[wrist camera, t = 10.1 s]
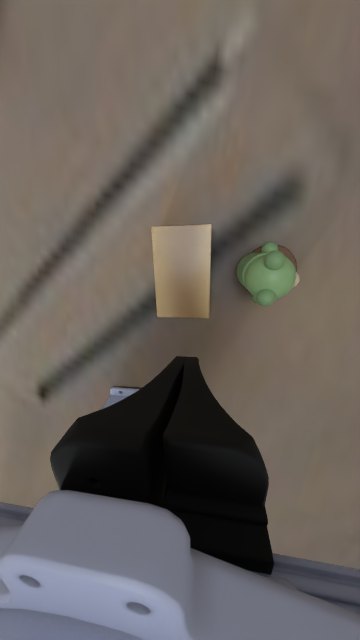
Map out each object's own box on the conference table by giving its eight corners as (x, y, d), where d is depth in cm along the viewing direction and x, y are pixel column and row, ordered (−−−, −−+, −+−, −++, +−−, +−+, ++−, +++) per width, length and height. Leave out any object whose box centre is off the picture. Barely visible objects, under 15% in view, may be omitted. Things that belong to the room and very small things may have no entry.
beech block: (163, 308, 22) (157, 317, 19) (159, 230, 19) (151, 226, 16) (209, 309, 21) (209, 318, 18) (211, 228, 18) (211, 223, 16)
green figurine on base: (202, 294, 18) (265, 320, 12) (209, 237, 16) (286, 237, 11) (261, 292, 22) (328, 310, 16) (272, 245, 20) (351, 248, 15)
